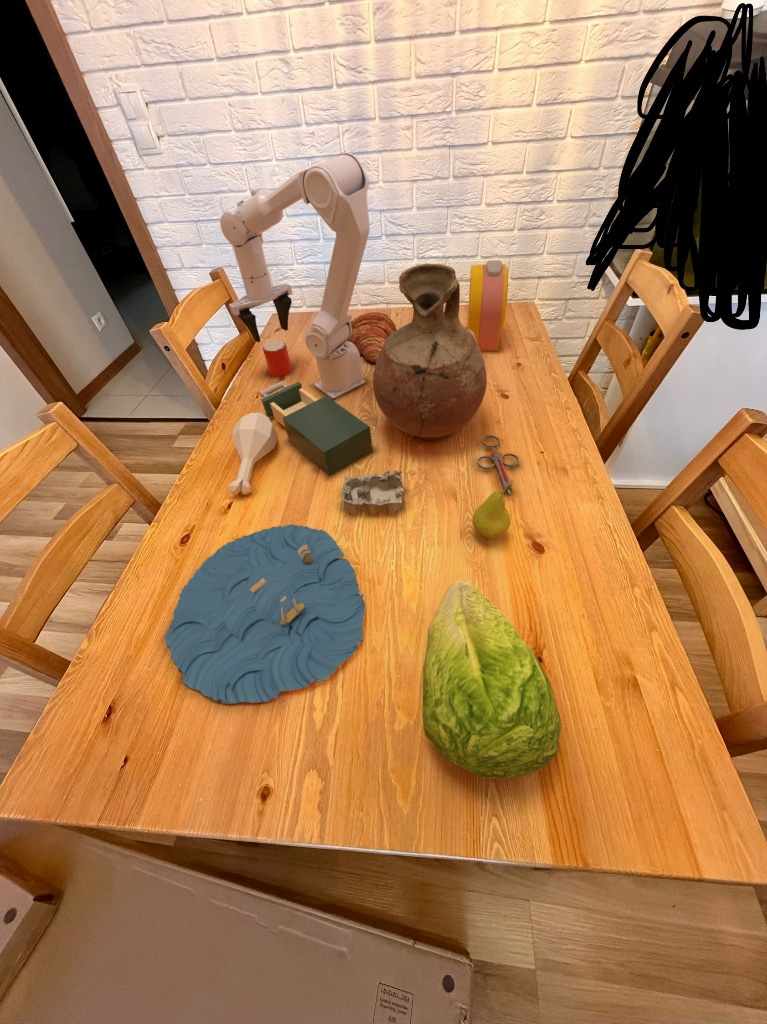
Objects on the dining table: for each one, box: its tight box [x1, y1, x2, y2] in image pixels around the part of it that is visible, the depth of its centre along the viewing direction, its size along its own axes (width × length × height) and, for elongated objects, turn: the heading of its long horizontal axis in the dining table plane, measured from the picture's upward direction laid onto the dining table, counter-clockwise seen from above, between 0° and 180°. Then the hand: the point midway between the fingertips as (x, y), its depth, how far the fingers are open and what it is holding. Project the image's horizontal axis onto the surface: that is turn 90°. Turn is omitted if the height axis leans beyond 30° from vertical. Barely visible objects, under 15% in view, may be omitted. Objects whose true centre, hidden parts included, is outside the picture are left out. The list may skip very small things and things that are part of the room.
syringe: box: [476, 434, 520, 503], centre depth 85 cm, size 8×18×2 cm, turn 4°
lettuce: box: [421, 579, 563, 781], centre depth 55 cm, size 15×24×14 cm, turn 3°
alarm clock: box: [466, 259, 509, 352], centre depth 111 cm, size 15×8×18 cm, turn 173°
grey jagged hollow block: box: [340, 470, 405, 515], centre depth 81 cm, size 11×8×4 cm
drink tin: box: [262, 339, 293, 378], centre depth 112 cm, size 6×6×7 cm
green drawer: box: [258, 380, 319, 428], centre depth 98 cm, size 18×9×4 cm, turn 40°
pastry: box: [348, 311, 397, 364], centre depth 117 cm, size 17×15×8 cm
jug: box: [372, 263, 488, 440], centre depth 84 cm, size 22×22×30 cm
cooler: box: [283, 395, 374, 477], centre depth 91 cm, size 15×11×6 cm
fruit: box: [471, 484, 512, 541], centre depth 71 cm, size 6×6×12 cm
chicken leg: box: [227, 411, 278, 496], centre depth 88 cm, size 8×18×8 cm, turn 175°
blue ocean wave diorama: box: [164, 524, 366, 705], centre depth 67 cm, size 30×30×5 cm
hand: (271, 334), depth 108 cm, fingers open, 7 cm apart
